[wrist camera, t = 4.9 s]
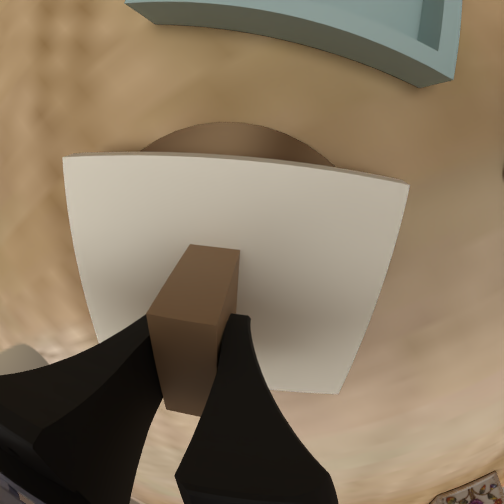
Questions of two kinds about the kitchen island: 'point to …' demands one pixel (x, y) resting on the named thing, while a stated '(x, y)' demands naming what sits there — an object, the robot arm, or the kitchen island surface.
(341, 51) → the blue-grey open tray
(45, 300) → the kitchen island surface
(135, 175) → the lid
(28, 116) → the kitchen island surface
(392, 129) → the kitchen island surface
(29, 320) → the kitchen island surface
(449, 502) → the decorative jar
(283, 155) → the trivet
